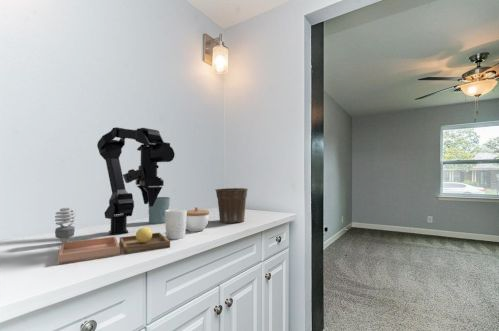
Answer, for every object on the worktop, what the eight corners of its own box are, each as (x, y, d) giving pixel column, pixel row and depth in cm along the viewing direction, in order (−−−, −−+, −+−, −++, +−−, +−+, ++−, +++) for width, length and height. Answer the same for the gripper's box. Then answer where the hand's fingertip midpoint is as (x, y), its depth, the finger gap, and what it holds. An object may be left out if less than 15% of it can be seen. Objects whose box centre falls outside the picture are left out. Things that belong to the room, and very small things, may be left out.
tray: (119, 243, 86) (119, 237, 86) (159, 238, 93) (159, 232, 93) (125, 254, 74) (125, 247, 74) (170, 247, 81) (170, 240, 81)
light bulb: (78, 242, 87) (79, 207, 88) (62, 246, 82) (63, 209, 82) (67, 240, 89) (67, 206, 90) (50, 245, 84) (51, 208, 84)
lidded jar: (181, 228, 109) (181, 206, 110) (205, 226, 114) (205, 205, 114) (185, 233, 100) (185, 209, 100) (212, 231, 104) (212, 208, 104)
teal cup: (143, 223, 122) (143, 198, 122) (160, 219, 131) (160, 196, 131) (157, 225, 117) (157, 199, 117) (174, 221, 125) (174, 197, 126)
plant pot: (210, 223, 120) (210, 189, 121) (221, 218, 136) (221, 187, 136) (243, 225, 117) (243, 190, 117) (251, 219, 132) (250, 188, 133)
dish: (62, 250, 77) (62, 242, 77) (114, 243, 85) (114, 236, 85) (58, 264, 65) (58, 255, 65) (119, 255, 73) (119, 246, 73)
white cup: (180, 240, 89) (180, 212, 90) (160, 239, 91) (160, 211, 91) (190, 235, 97) (190, 209, 97) (171, 234, 99) (171, 208, 99)
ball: (134, 242, 84) (134, 227, 84) (150, 240, 87) (150, 225, 87) (137, 245, 80) (137, 229, 80) (153, 243, 83) (153, 227, 83)
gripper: (121, 163, 97) (120, 204, 96) (128, 160, 81) (127, 209, 81) (152, 163, 103) (151, 202, 102) (164, 161, 87) (163, 207, 87)
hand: (148, 205), depth 93 cm, fingers open, 9 cm apart
